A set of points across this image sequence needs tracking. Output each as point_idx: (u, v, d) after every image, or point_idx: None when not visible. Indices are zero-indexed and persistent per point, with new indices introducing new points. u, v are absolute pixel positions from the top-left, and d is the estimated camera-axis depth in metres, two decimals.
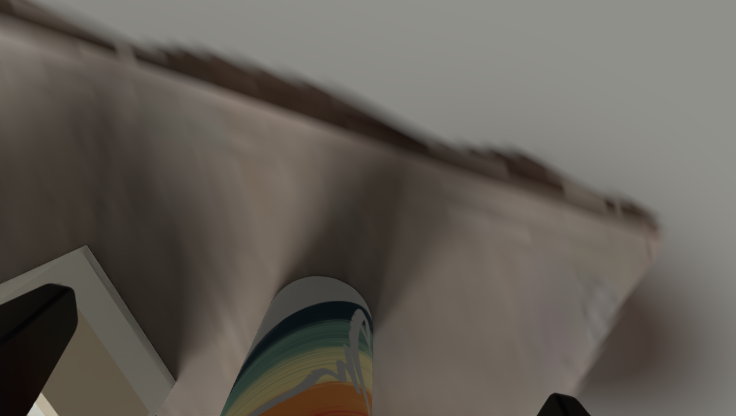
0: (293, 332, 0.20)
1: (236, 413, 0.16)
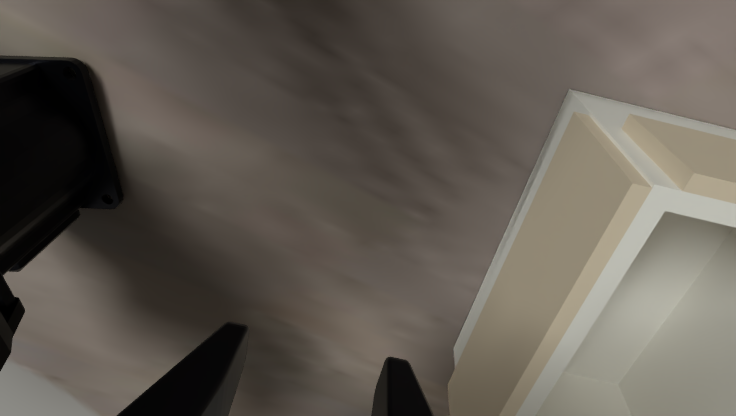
0: None
1: None
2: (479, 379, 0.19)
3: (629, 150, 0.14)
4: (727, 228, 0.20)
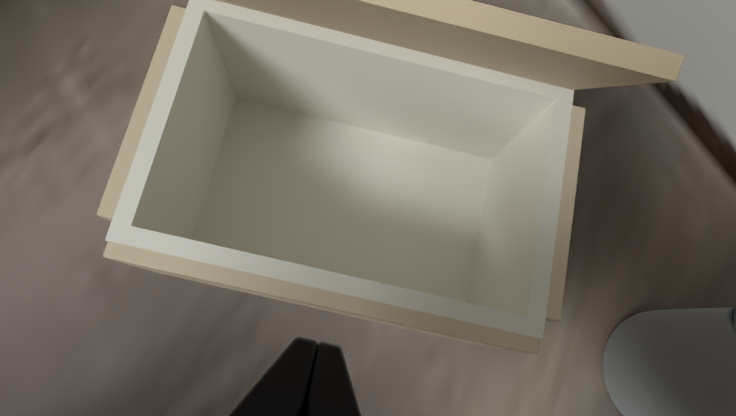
0: None
1: None
2: (413, 328, 0.18)
3: None
4: (298, 116, 0.24)
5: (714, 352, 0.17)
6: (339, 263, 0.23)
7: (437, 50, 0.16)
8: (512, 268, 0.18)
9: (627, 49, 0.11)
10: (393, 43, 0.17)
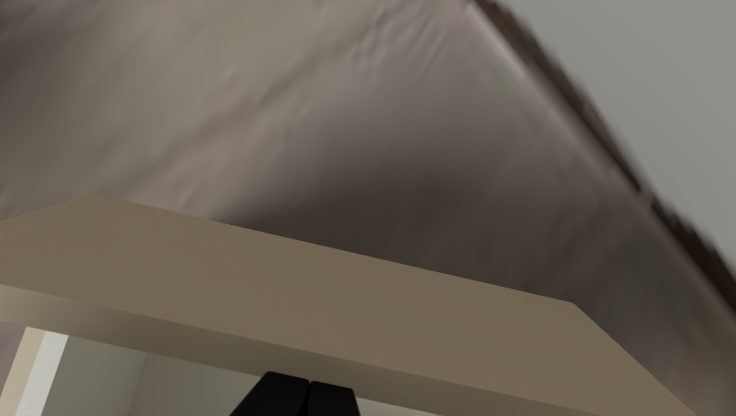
0: None
1: None
2: None
3: None
4: None
5: None
6: None
7: None
8: None
9: None
10: None
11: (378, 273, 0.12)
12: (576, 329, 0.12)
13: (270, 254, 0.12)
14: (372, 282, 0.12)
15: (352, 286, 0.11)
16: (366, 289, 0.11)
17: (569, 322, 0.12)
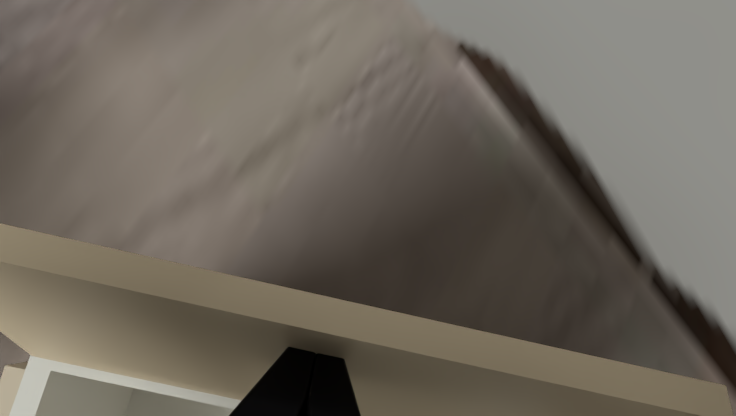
0: None
1: None
2: None
3: None
4: None
5: None
6: None
7: (373, 415, 0.11)
8: None
9: (651, 379, 0.08)
10: None
11: None
12: None
13: None
14: None
15: None
16: None
17: None
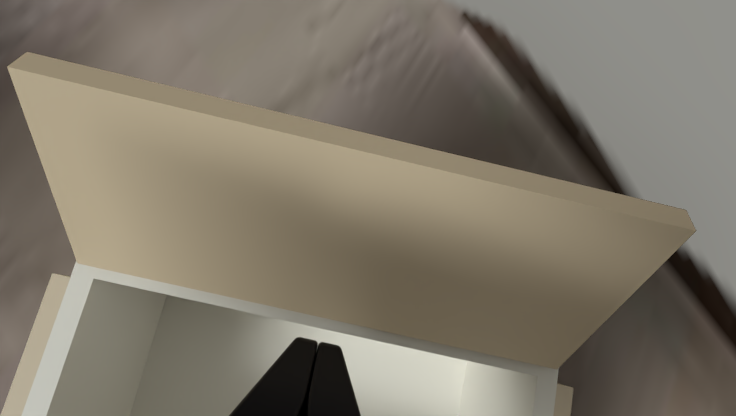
0: None
1: None
2: None
3: None
4: (241, 312, 0.20)
5: None
6: None
7: (391, 303, 0.13)
8: None
9: (626, 201, 0.10)
10: (333, 311, 0.13)
11: None
12: None
13: None
14: None
15: None
16: None
17: None
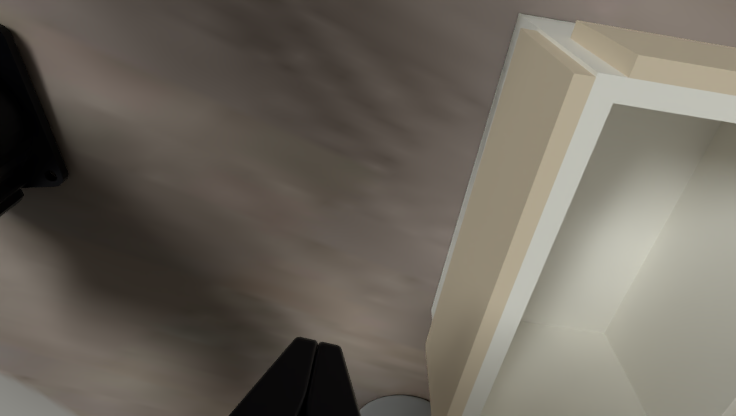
0: None
1: None
2: (450, 329, 0.18)
3: (574, 50, 0.13)
4: (699, 152, 0.19)
5: None
6: None
7: None
8: (505, 404, 0.19)
9: None
10: None
11: None
12: None
13: None
14: None
15: None
16: None
17: None
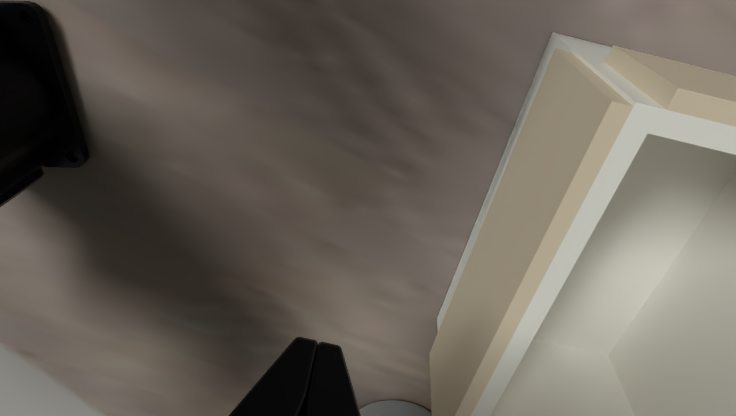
0: None
1: None
2: (458, 341, 0.18)
3: (610, 77, 0.13)
4: (720, 184, 0.19)
5: None
6: None
7: None
8: None
9: None
10: None
11: None
12: None
13: None
14: None
15: None
16: None
17: None
